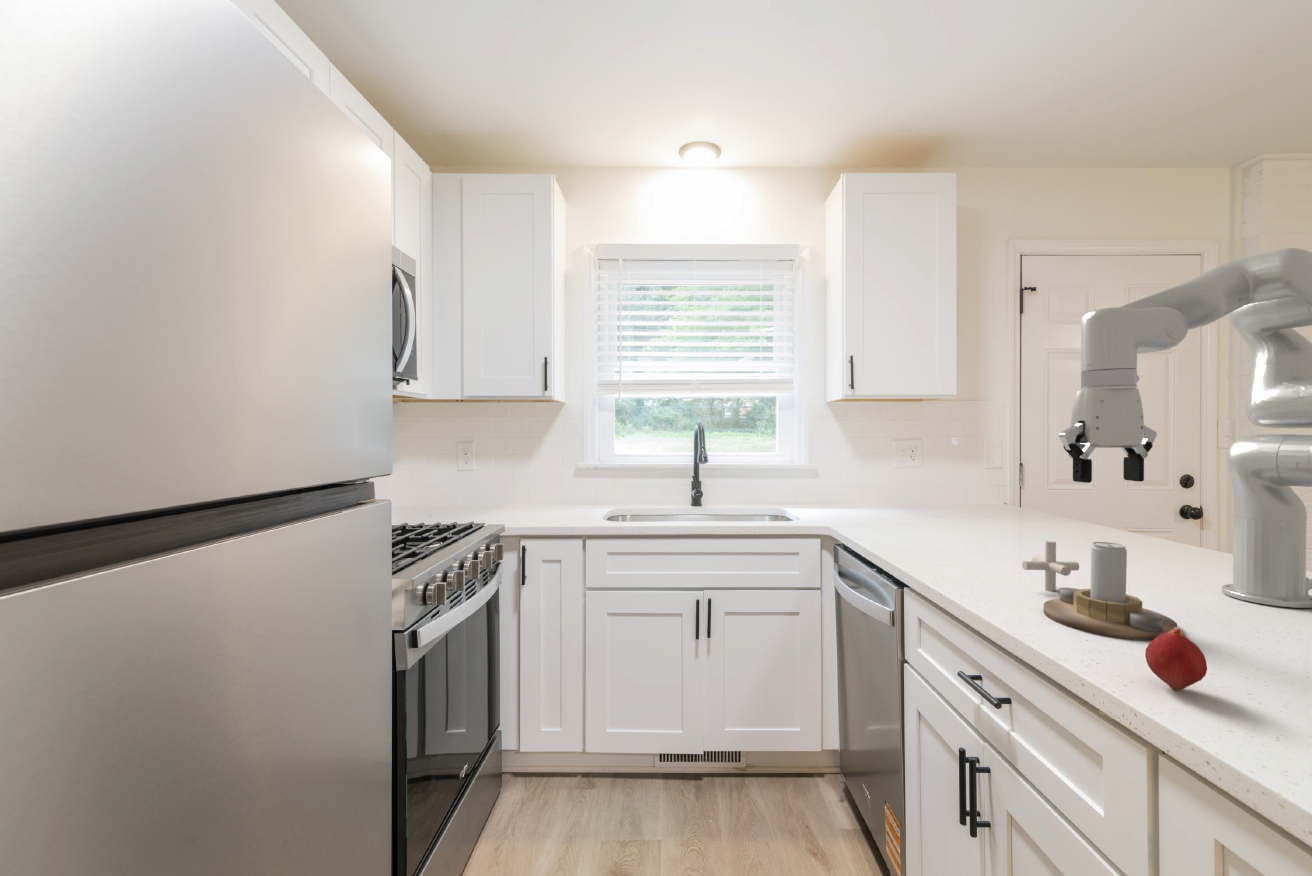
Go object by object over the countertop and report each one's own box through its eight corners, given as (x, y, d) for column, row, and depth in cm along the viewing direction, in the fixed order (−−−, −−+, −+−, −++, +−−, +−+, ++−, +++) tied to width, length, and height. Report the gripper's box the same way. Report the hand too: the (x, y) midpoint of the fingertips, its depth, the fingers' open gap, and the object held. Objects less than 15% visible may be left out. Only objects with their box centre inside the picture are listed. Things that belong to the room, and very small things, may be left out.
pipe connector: (1061, 583, 121) (1061, 536, 120) (1092, 597, 111) (1093, 546, 111) (1011, 582, 122) (1011, 536, 121) (1038, 596, 112) (1038, 546, 112)
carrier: (1107, 602, 108) (1107, 580, 108) (1209, 637, 90) (1209, 611, 90) (1019, 606, 106) (1019, 584, 106) (1105, 642, 88) (1106, 616, 88)
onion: (1133, 680, 75) (1133, 620, 75) (1173, 678, 76) (1173, 618, 75) (1177, 701, 69) (1177, 636, 69) (1220, 698, 70) (1220, 634, 70)
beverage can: (1117, 610, 99) (1119, 542, 99) (1131, 619, 95) (1132, 548, 94) (1085, 608, 101) (1086, 540, 101) (1097, 616, 96) (1098, 546, 96)
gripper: (1133, 383, 102) (1132, 478, 102) (1044, 383, 100) (1044, 480, 100) (1175, 379, 94) (1175, 482, 95) (1080, 380, 92) (1080, 484, 93)
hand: (1107, 481), depth 97 cm, fingers open, 9 cm apart
